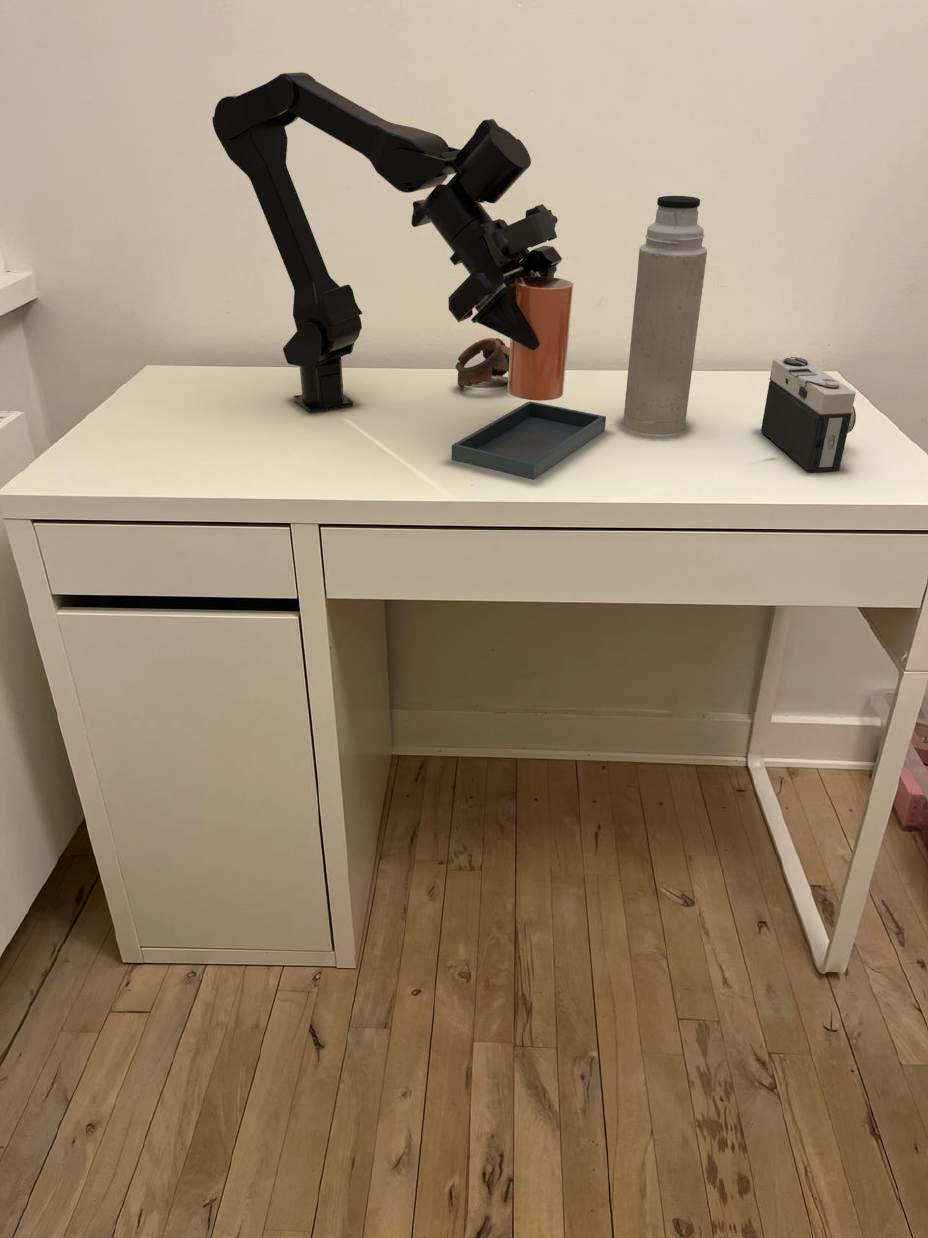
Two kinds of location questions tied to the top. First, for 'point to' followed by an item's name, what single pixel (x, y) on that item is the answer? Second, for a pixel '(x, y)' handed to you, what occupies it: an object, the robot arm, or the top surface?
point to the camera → (808, 414)
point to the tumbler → (541, 338)
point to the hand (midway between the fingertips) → (550, 340)
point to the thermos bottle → (665, 318)
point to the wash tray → (529, 439)
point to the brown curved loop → (491, 366)
